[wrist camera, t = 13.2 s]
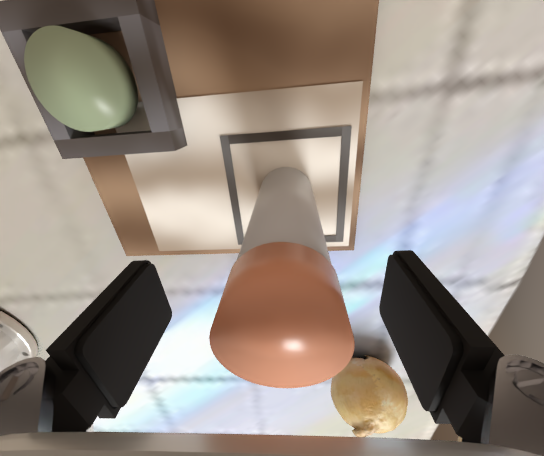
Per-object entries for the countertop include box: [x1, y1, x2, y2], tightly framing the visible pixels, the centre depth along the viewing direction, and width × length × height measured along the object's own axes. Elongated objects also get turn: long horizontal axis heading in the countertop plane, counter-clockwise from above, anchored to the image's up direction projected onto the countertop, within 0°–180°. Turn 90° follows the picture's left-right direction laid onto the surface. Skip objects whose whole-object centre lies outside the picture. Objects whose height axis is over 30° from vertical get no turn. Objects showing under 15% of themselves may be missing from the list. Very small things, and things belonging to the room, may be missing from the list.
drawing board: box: [0, 0, 379, 256], centre depth 17 cm, size 18×21×3 cm
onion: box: [331, 355, 408, 437], centre depth 26 cm, size 8×8×7 cm
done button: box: [24, 25, 138, 132], centre depth 13 cm, size 5×5×2 cm
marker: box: [210, 167, 355, 388], centre depth 13 cm, size 4×4×13 cm
